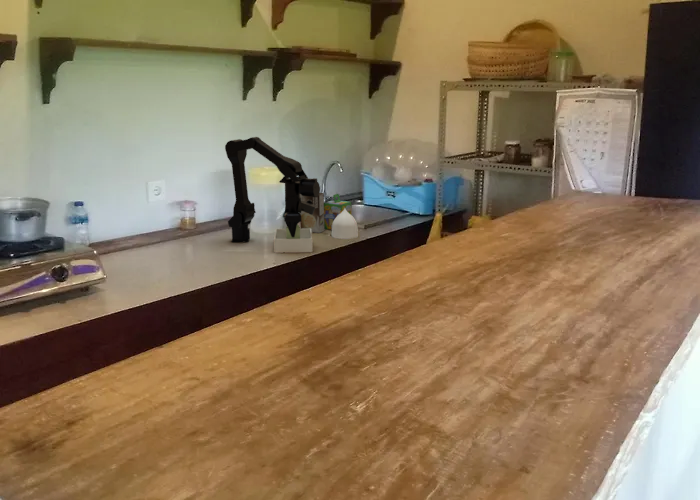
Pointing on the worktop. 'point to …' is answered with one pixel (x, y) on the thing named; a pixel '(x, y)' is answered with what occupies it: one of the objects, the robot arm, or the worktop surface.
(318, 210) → the coffee box
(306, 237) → the serving bin
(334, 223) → the teardrop
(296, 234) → the salad portion
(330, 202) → the chalk box
